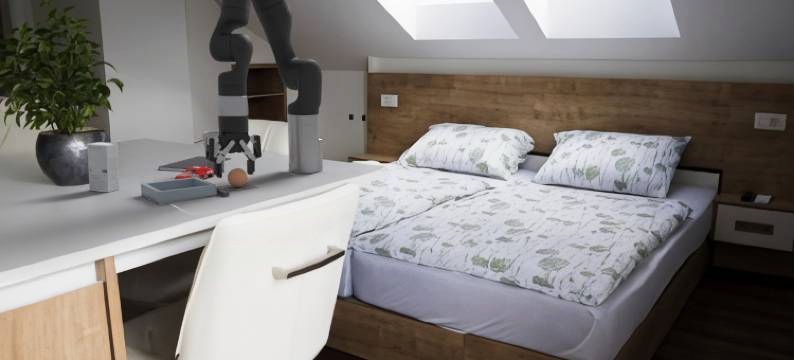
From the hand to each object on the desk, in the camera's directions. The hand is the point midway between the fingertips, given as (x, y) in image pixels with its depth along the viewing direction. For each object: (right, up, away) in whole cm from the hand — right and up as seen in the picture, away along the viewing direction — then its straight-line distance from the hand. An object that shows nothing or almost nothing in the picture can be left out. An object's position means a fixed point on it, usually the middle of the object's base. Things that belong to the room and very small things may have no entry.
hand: (234, 175), depth 165 cm
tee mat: (+1, -3, +1) cm, 3 cm away
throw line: (-5, -4, -4) cm, 7 cm away
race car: (-14, -2, +11) cm, 18 cm away
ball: (+1, -3, +1) cm, 3 cm away
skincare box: (-33, -4, -3) cm, 33 cm away
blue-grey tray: (-12, -5, -9) cm, 15 cm away
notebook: (-21, +3, +35) cm, 41 cm away
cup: (-12, +1, +24) cm, 27 cm away
